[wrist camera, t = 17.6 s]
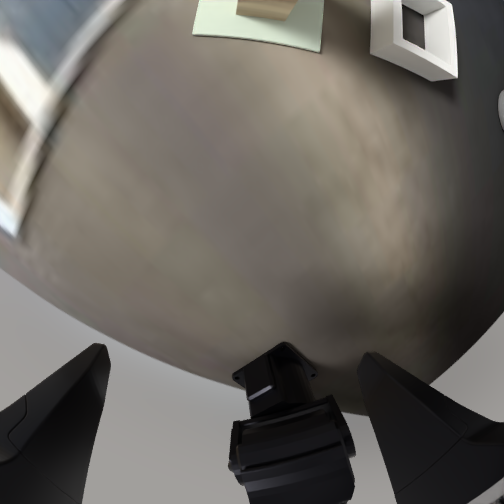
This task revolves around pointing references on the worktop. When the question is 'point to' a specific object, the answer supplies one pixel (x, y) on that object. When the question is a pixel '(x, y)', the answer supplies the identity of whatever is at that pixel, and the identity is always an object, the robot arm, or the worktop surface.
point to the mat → (262, 24)
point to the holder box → (407, 54)
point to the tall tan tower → (266, 8)
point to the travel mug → (501, 108)
